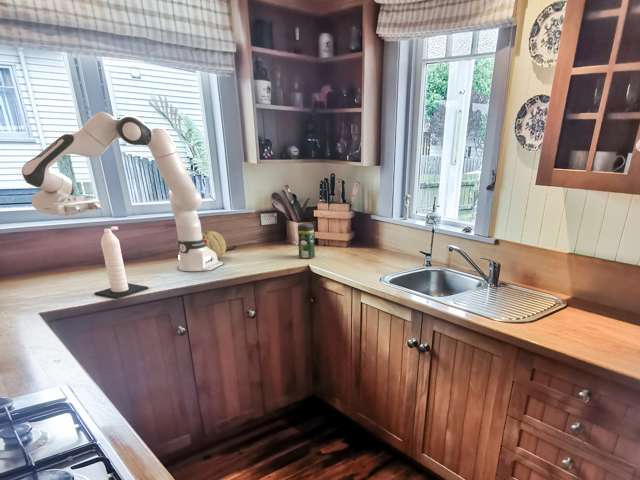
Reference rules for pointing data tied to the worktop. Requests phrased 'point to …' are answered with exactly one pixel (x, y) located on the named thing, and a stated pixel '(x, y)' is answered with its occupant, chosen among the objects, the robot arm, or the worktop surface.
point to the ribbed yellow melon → (215, 242)
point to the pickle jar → (306, 240)
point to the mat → (131, 290)
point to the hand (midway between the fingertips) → (88, 208)
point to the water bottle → (114, 261)
